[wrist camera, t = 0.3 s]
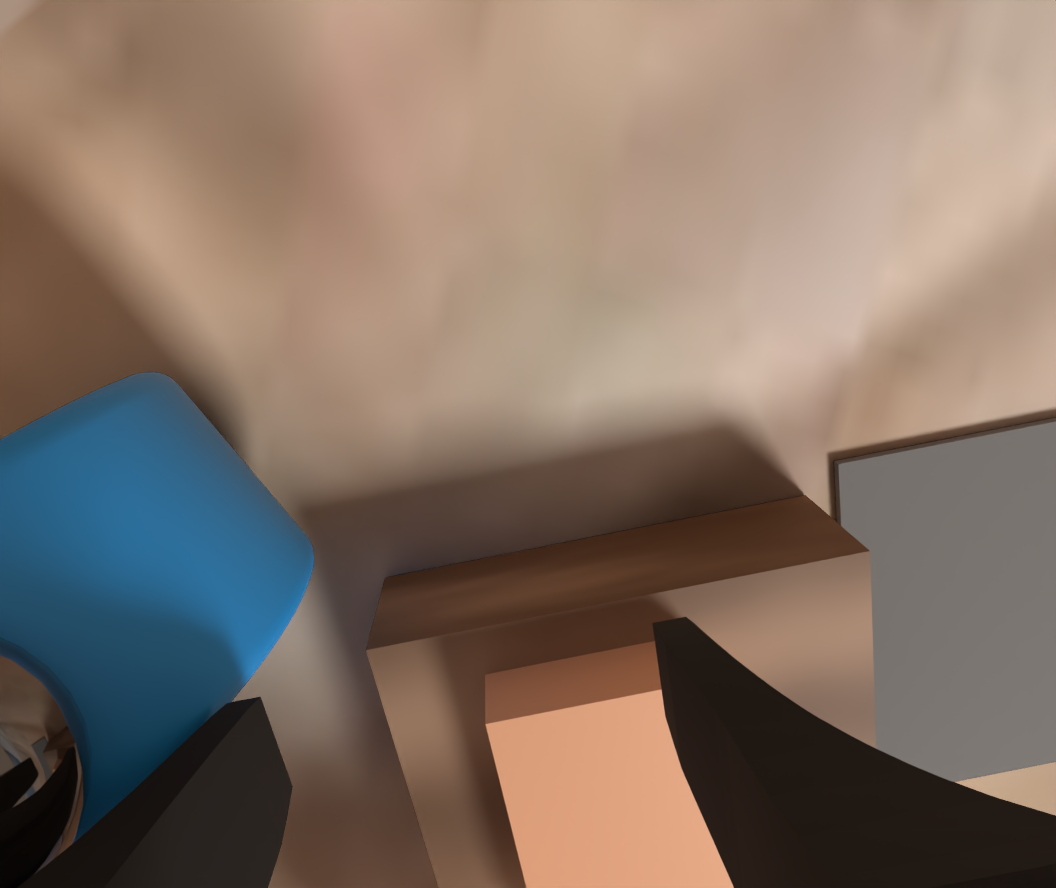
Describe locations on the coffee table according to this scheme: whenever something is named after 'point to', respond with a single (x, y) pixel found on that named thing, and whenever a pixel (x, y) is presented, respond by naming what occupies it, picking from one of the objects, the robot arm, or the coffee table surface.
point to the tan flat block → (609, 645)
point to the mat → (961, 596)
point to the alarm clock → (124, 602)
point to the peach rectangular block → (596, 776)
